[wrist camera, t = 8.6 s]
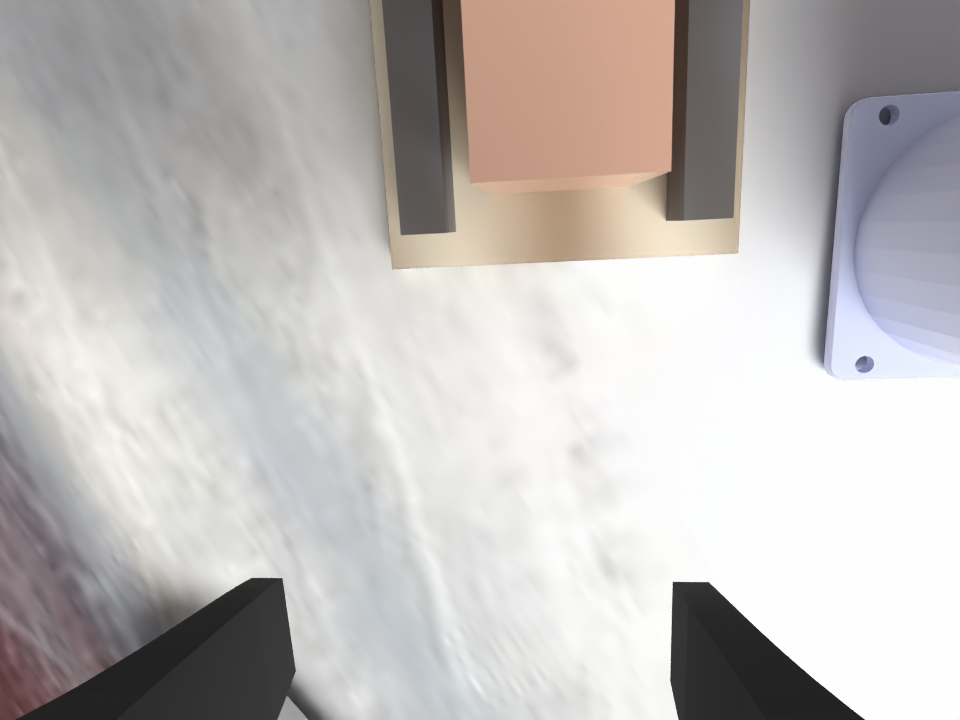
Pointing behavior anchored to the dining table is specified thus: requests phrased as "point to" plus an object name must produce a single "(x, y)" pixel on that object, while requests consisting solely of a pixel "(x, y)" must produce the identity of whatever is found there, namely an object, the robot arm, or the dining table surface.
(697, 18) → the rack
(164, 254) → the dining table surface
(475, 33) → the clay block
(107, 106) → the dining table surface
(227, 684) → the robot arm
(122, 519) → the dining table surface
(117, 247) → the dining table surface
